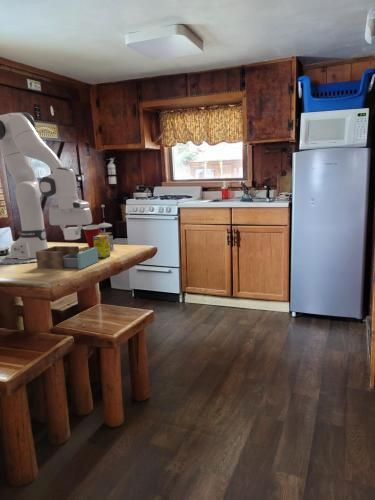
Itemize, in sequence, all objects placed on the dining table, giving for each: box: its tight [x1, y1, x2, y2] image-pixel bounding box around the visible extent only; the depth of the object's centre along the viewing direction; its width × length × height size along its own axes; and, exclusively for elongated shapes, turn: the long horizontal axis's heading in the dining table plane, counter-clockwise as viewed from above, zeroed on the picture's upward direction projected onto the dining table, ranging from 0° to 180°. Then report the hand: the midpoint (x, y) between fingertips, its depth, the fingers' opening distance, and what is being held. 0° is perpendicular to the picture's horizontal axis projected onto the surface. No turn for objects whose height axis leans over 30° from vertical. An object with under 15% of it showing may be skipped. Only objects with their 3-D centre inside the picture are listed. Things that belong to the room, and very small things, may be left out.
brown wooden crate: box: [35, 245, 80, 270], centre depth 179 cm, size 13×14×8 cm
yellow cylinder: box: [93, 234, 111, 259], centre depth 192 cm, size 6×6×11 cm
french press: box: [97, 204, 116, 253], centre depth 207 cm, size 10×12×25 cm
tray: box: [63, 247, 99, 270], centre depth 177 cm, size 13×15×7 cm
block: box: [63, 226, 82, 241], centre depth 175 cm, size 5×5×5 cm
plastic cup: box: [81, 224, 101, 248], centre depth 224 cm, size 11×11×12 cm
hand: (72, 234), depth 175 cm, fingers closed on block, 5 cm apart
